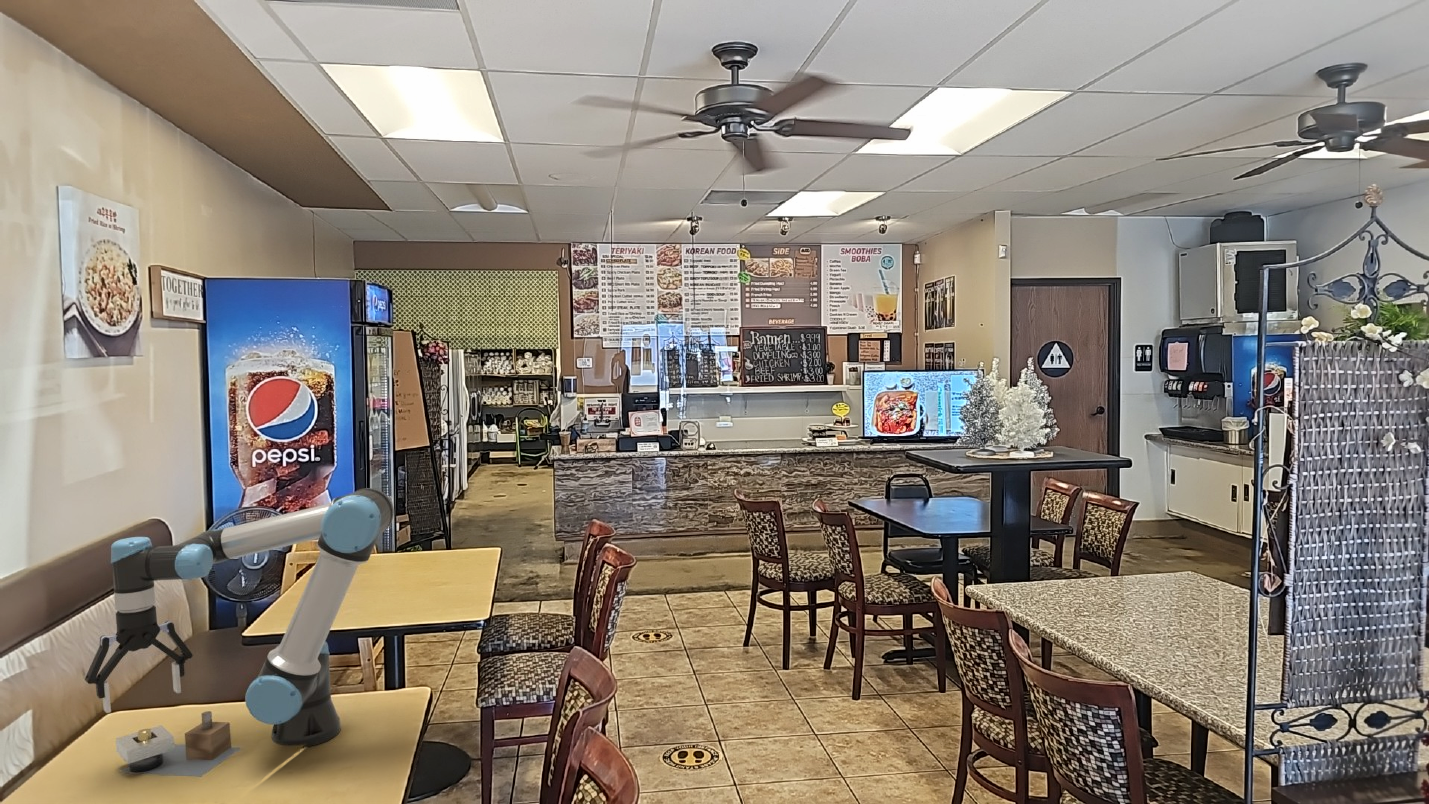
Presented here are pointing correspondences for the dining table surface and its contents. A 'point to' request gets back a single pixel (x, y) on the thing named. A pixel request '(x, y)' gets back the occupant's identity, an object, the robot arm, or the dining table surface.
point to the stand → (207, 739)
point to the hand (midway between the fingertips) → (143, 701)
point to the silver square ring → (145, 745)
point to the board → (185, 763)
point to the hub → (148, 762)
